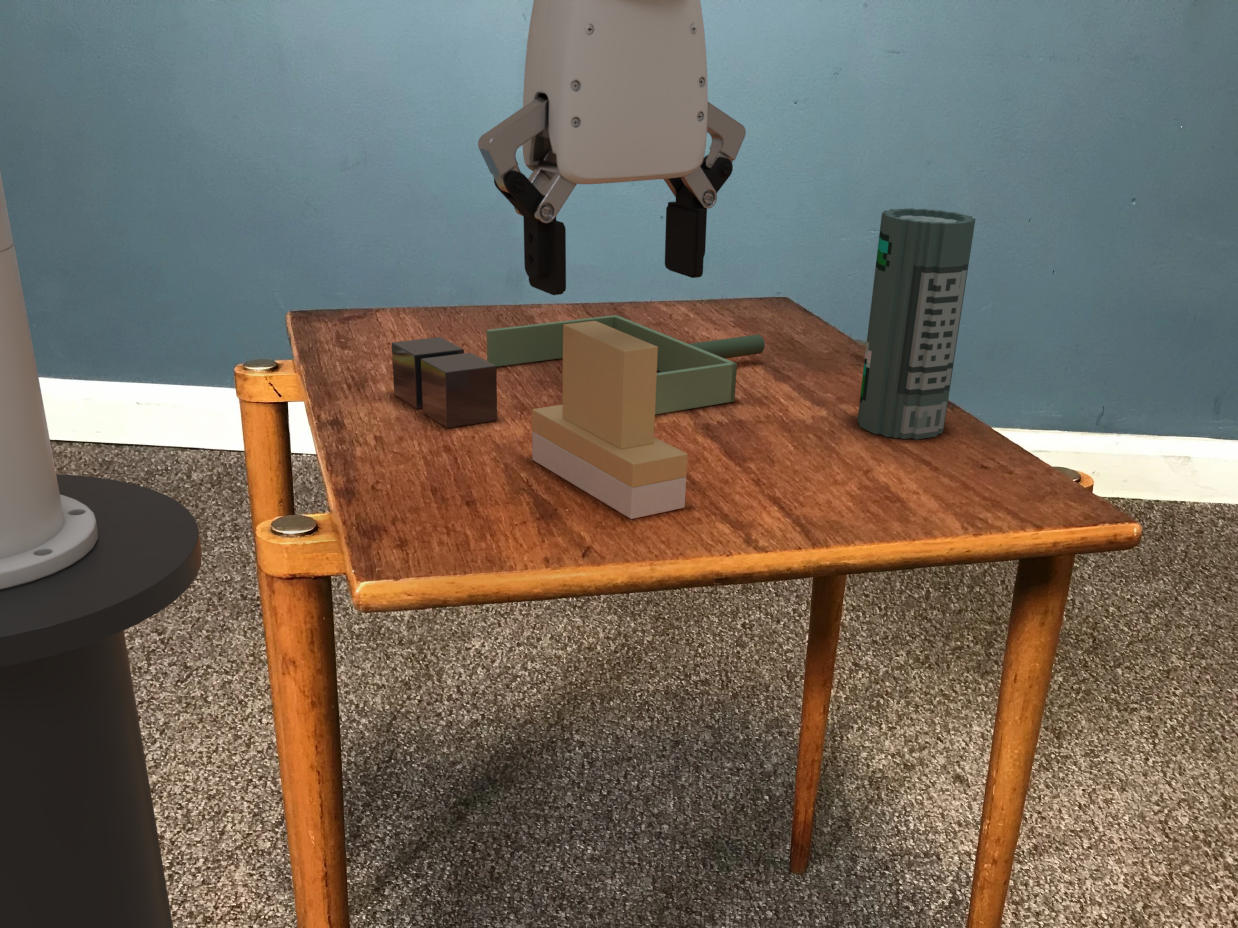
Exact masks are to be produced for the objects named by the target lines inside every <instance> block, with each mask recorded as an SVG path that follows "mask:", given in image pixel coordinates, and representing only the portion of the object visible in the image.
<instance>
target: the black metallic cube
mask: <svg viewBox="0 0 1238 928" xmlns="http://www.w3.org/2000/svg"><path fill="white" fill-rule="evenodd" d="M463 353H465V349H464V348H462V347H460V346H459V345H457V344H454V343H453V342H451V341H449V340H447V339H445V338H443V337H441V336H437V337H428V338H427V337H426V338H418V339H410V340H401V341H394V342H393V341H392V342H391V360H392V377H393V379H392V380H393V395H394V396H396V397H397V398H398V399H400V400H402V401H403V402H405V403H407V404H408V405H410V406H412V408H415V409H416V410H419V409H423V401H422V377H421V359H423V358H431V357H439V356H447V355H455V354H463Z"/></svg>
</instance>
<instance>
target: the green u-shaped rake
mask: <svg viewBox="0 0 1238 928" xmlns="http://www.w3.org/2000/svg"><path fill="white" fill-rule="evenodd" d="M589 321H597V322H600V323H602V324H604V325H607V326H609V327H612V328H614V329H616V330H619V331H621V332H624V333H626V334H628V335H631V336H633V337H636V338H638V339H640V340H643V341H645V342H648V343H650V344H652V345H655V346H657V347H658V356H657V379H656V401H655V416H656V415H661V414H667V413H673V412H680V411H685V410H691V409H697V408H704V407H710V406H717V405H721V404H728V403H733V402H736V401H735V399H736V386H737V385H736V384H737V374H738V373H737V371H738V363H737V362H734V361H732V360H729V359H731V358H732V359H733V358H739V357H747V356H753V355H760V354H762V353H763V352H764V350H765V345H766V344H765V339H764V337H763V336H762V335H761V334H749V335H744V336H736V337H729V338H721V339H713V340H706V341H699V342H690V343H688V342H685V341H682V340H679V339H677V338H675V337H672V336H670V335H668V334H665V333H663V332H660V331H657V330H655V329H652V328H650V327H647V326H646V325H642V324H640V323H637V322H635V321H632V320H630V319H628V318H626V317H623V316H621V315H618V314H613V315H603V316H594V317H587V318H577V319H570V320H569V319H568V320H561V321H560V320H559V321H551V322H543V323H535V324H526V325H517V326H509V327H507V326H506V327H499V328H498V327H497V328H492V329H491V328H490V329H486V361H488V362H490V363H492V364H493V365H495V366H496V367H497V368H498V367H506V366H513V365H520V364H528V363H536V362H544V361H552V360H560V359H563V325H564V324H571V323H580V322H589Z"/></svg>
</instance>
